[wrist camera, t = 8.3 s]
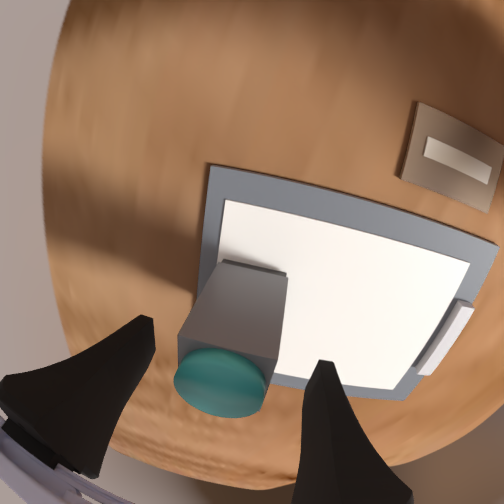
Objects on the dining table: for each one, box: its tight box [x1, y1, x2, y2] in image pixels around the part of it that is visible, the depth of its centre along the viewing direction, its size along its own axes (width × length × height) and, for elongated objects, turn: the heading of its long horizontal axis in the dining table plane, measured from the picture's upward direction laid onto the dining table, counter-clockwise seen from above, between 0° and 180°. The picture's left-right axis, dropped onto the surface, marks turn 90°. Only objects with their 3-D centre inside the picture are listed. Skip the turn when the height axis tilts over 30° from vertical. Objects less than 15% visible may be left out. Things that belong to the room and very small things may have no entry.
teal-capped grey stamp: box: [174, 259, 288, 418], centre depth 13 cm, size 4×4×7 cm
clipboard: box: [197, 165, 500, 401], centre depth 16 cm, size 17×14×1 cm
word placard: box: [399, 102, 504, 214], centre depth 11 cm, size 6×4×1 cm, turn 80°
